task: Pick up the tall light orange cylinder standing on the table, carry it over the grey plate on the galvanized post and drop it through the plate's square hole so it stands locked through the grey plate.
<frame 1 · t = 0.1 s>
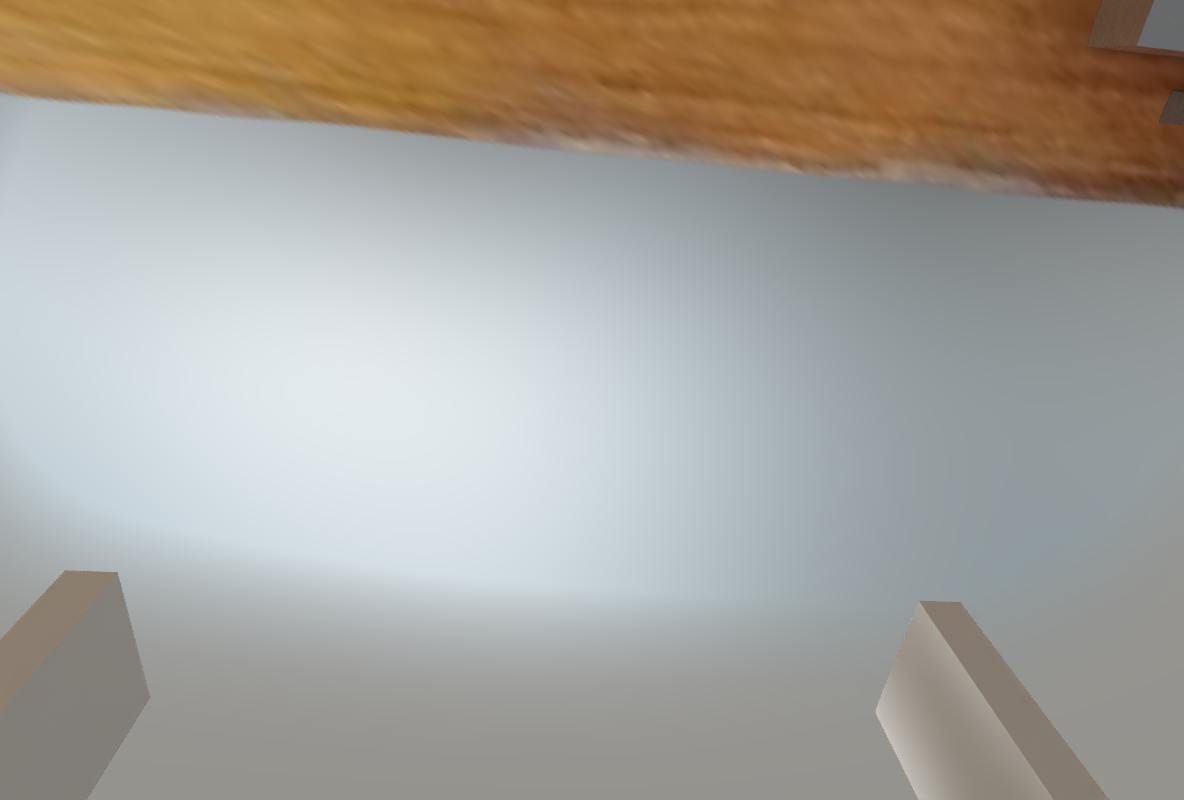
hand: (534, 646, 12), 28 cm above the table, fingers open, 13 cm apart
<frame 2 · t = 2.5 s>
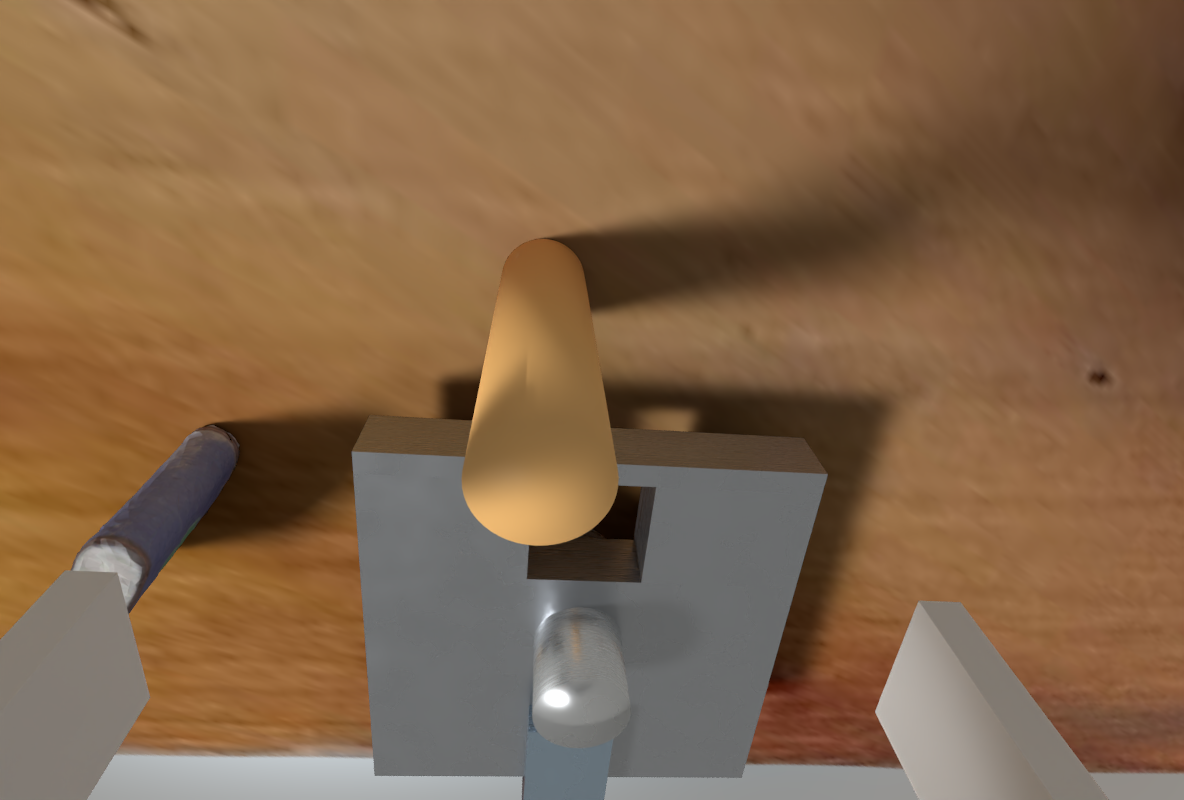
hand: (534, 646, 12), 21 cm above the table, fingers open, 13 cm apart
light orange cylinder: (543, 280, 30), on the table
flask: (183, 490, 34), on the table
grey plate: (573, 555, 37), on the table
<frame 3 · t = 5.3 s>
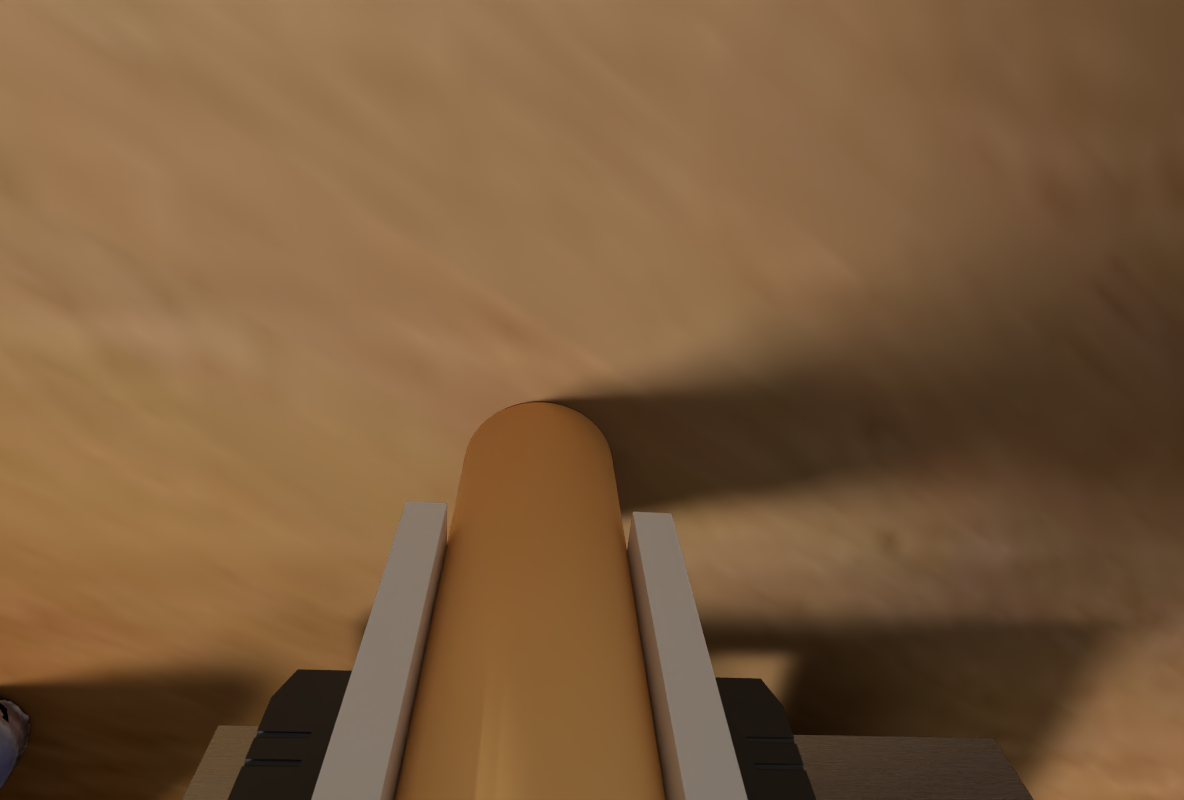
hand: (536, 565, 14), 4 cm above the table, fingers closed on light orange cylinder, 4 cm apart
light orange cylinder: (539, 468, 17), on the table, touching gripper
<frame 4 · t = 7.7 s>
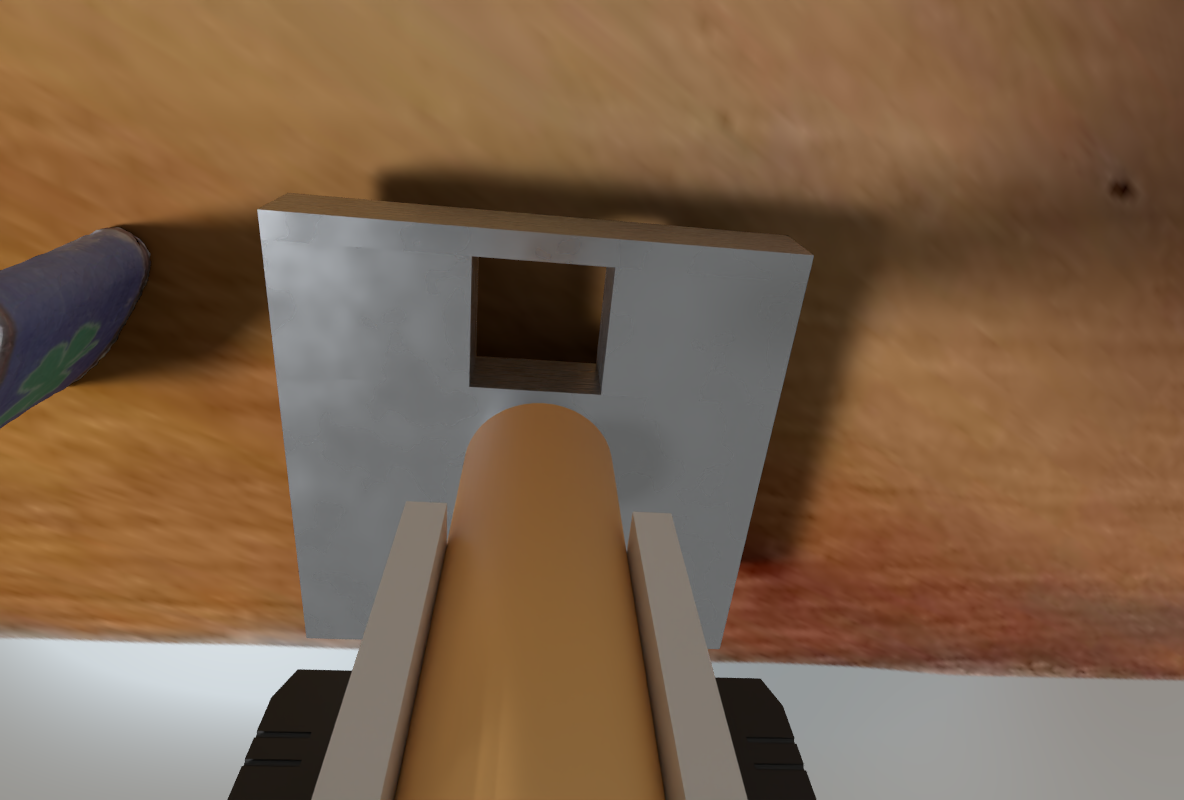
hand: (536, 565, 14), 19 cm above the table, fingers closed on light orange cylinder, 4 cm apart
light orange cylinder: (538, 468, 17), point 15 cm above the table, touching gripper
flask: (90, 311, 30), on the table
grey plate: (533, 402, 33), on the table
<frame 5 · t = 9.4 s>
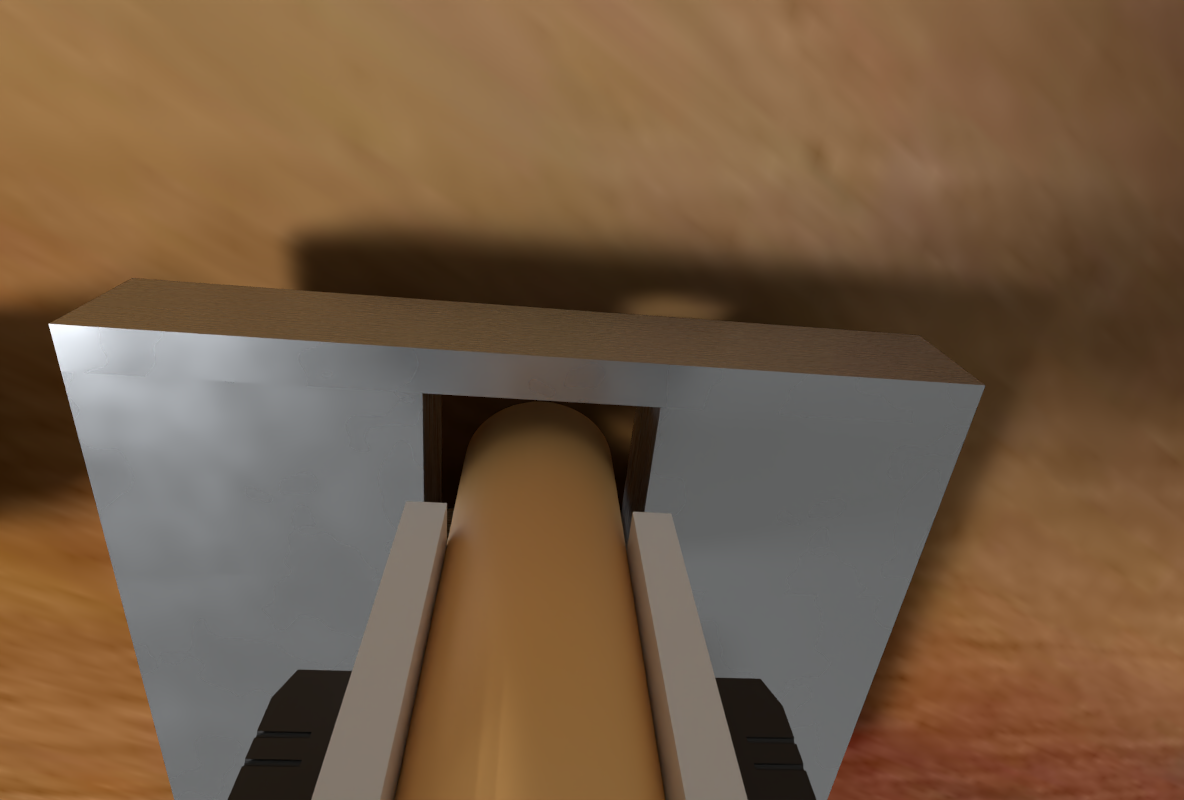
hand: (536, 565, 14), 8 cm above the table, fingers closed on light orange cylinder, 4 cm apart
light orange cylinder: (538, 467, 17), point 5 cm above the table, touching gripper
grey plate: (528, 544, 24), on the table
when the fingers open (8 cm above the table, at t = 10.5 s): light orange cylinder drops 3 cm, on the table.
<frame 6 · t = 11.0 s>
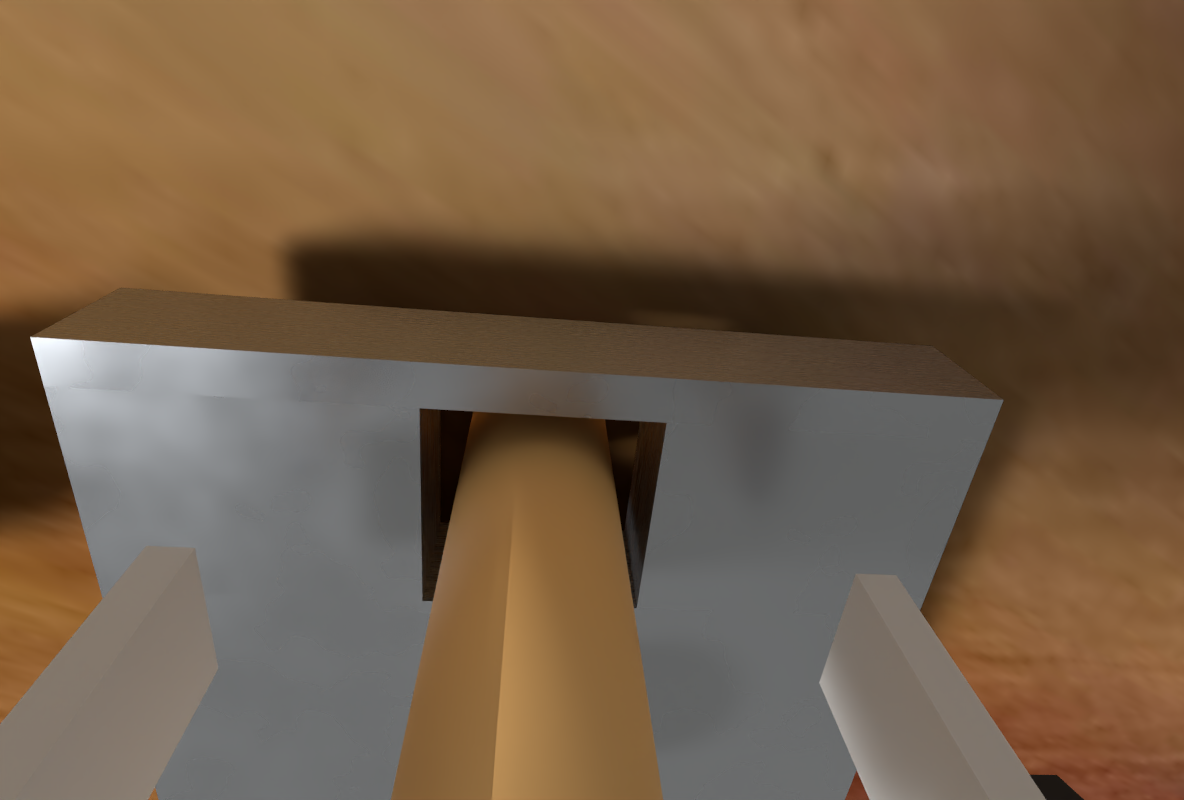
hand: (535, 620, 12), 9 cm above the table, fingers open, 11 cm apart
light orange cylinder: (539, 395, 21), on the table
grey plate: (529, 557, 23), on the table
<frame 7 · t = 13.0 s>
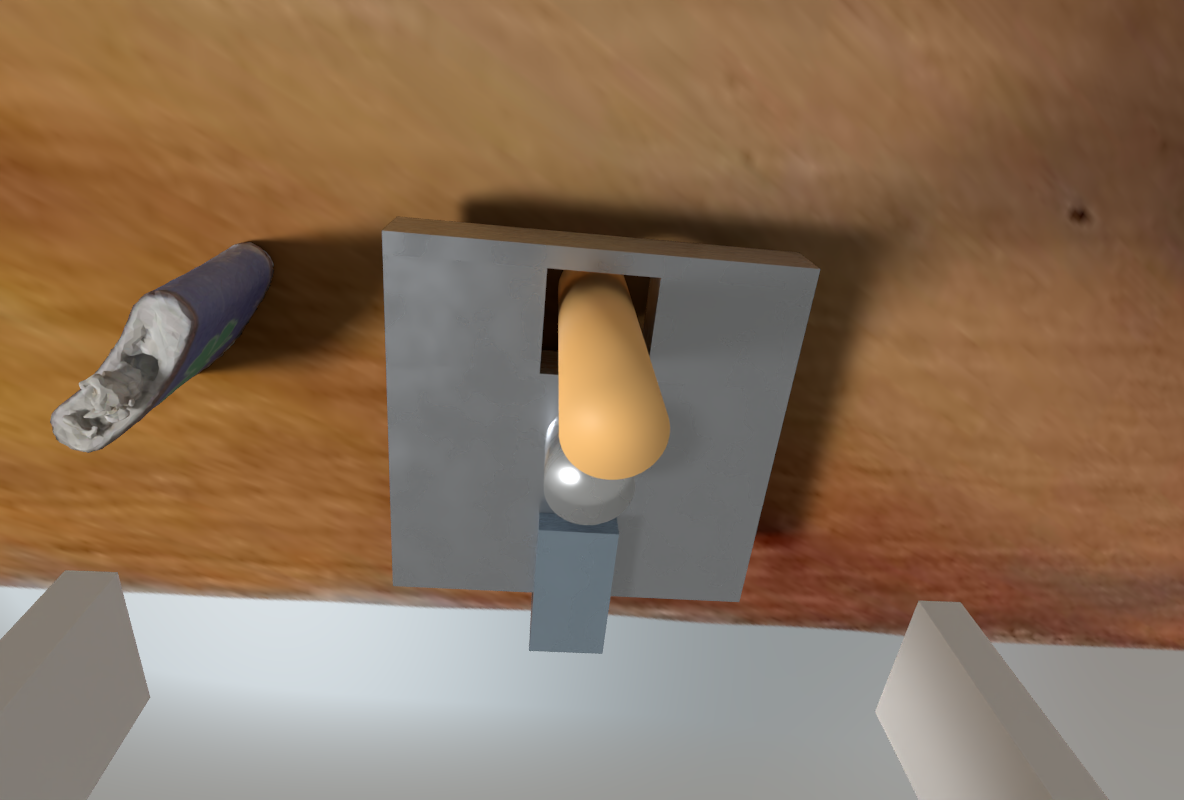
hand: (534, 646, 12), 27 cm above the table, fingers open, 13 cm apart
light orange cylinder: (592, 288, 37), on the table
flask: (219, 311, 37), on the table
grey plate: (582, 390, 39), on the table
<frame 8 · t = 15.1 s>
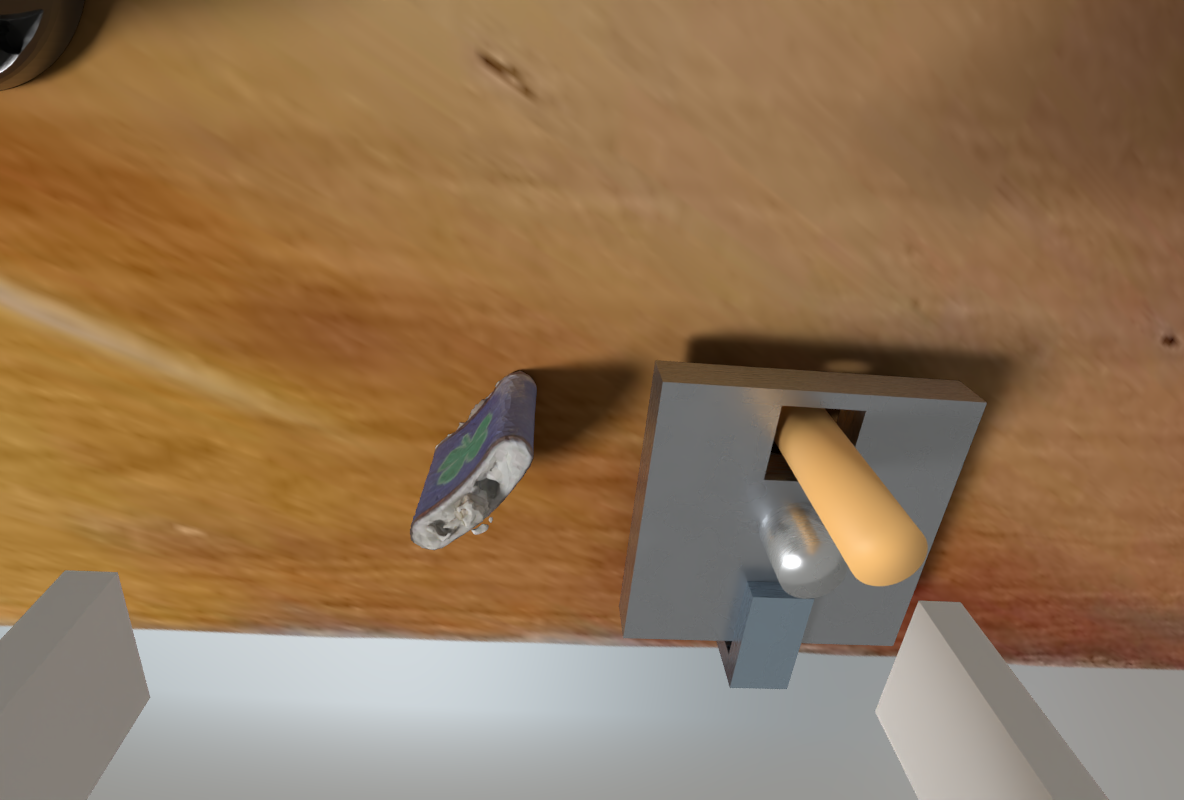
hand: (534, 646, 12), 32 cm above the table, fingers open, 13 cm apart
light orange cylinder: (782, 400, 46), on the table
flask: (485, 421, 46), on the table
grey plate: (764, 476, 49), on the table
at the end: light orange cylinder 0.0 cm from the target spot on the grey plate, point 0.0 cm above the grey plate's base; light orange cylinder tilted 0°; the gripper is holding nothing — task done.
